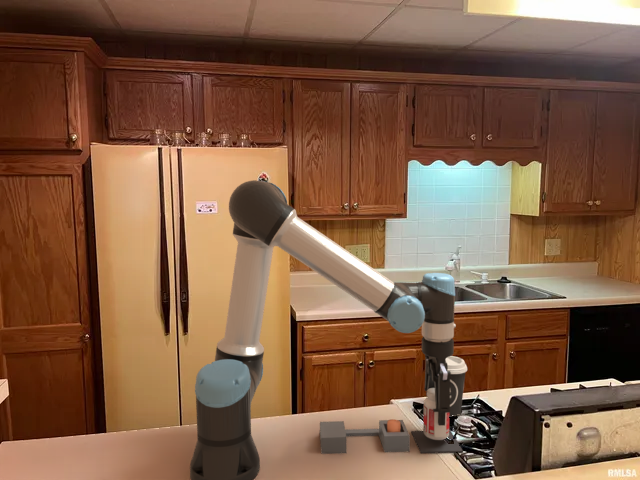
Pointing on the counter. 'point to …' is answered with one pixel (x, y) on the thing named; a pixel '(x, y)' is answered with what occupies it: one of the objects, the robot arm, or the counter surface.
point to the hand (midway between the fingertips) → (436, 429)
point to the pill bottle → (432, 416)
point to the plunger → (393, 425)
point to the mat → (435, 444)
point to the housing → (336, 433)
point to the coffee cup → (456, 383)
